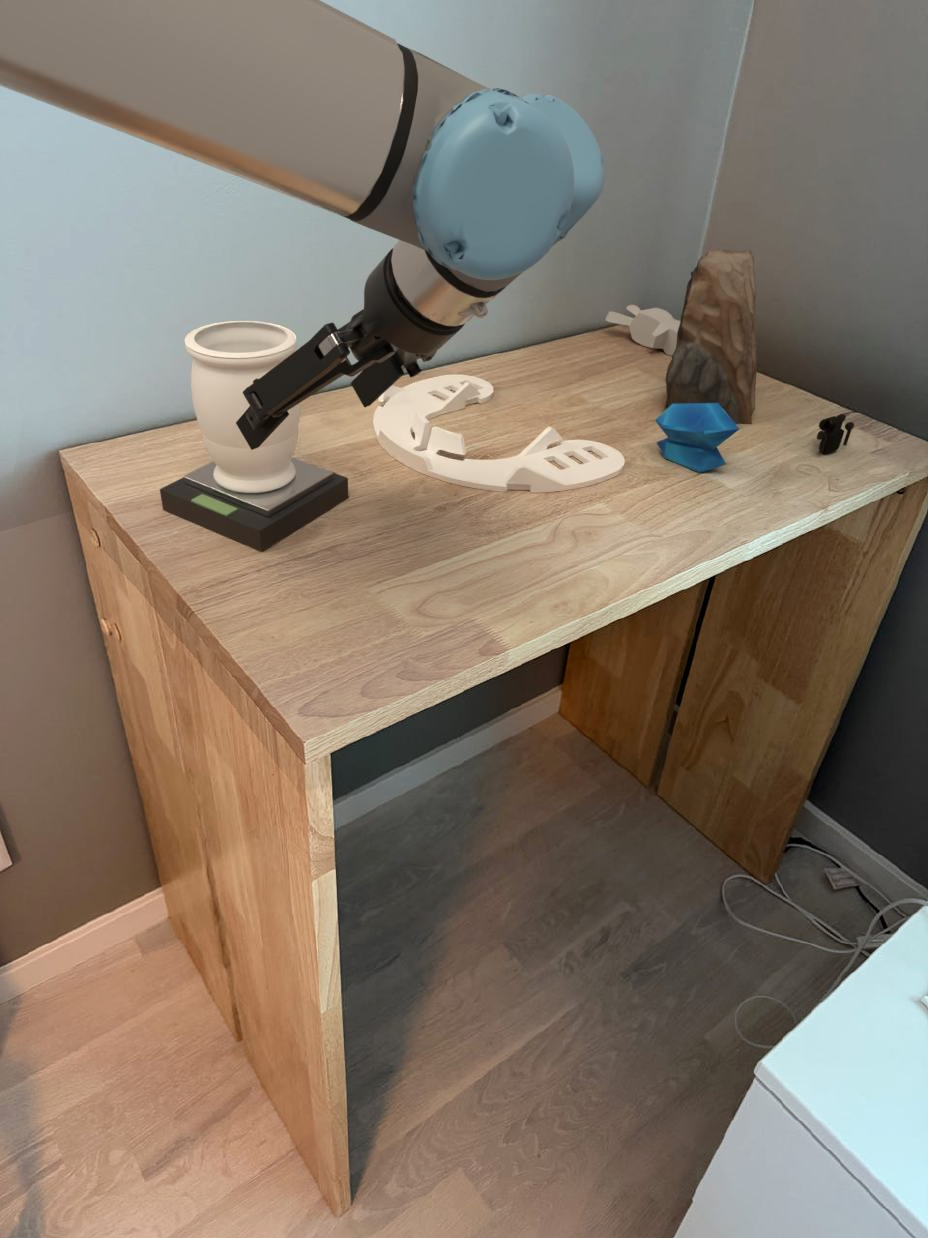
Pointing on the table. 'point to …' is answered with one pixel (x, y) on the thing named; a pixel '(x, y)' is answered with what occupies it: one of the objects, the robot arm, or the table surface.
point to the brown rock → (717, 337)
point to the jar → (240, 401)
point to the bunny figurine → (649, 327)
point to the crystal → (695, 434)
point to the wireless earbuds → (833, 433)
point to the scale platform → (263, 502)
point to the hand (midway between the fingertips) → (306, 413)
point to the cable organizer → (520, 472)
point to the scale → (251, 512)
